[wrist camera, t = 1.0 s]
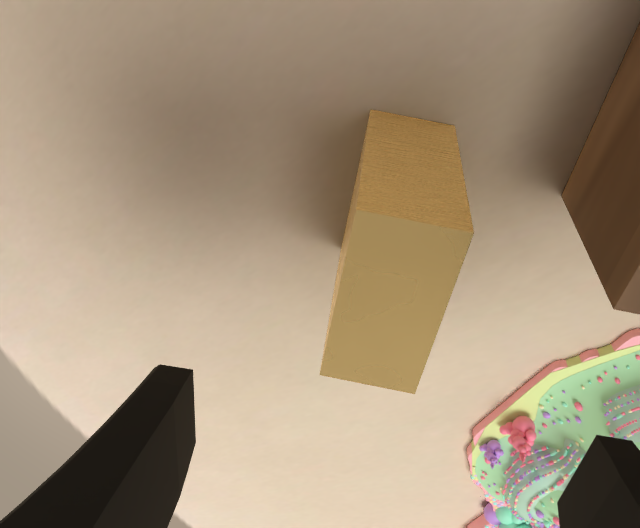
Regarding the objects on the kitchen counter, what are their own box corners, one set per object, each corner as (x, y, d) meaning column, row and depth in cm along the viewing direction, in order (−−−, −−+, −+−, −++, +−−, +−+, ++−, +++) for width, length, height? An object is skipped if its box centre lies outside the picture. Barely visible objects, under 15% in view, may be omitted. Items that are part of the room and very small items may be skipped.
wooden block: (454, 125, 17) (474, 232, 12) (412, 262, 20) (414, 394, 15) (370, 109, 17) (355, 209, 12) (341, 248, 20) (319, 374, 15)
